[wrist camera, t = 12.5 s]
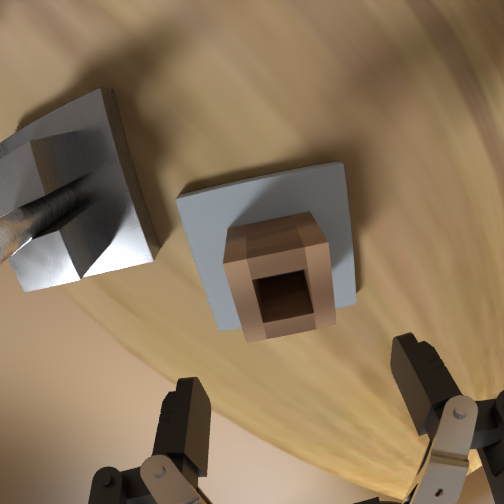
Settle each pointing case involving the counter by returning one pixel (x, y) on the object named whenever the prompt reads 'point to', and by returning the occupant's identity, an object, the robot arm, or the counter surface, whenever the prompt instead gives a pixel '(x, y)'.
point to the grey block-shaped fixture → (72, 196)
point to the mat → (264, 208)
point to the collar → (280, 276)
